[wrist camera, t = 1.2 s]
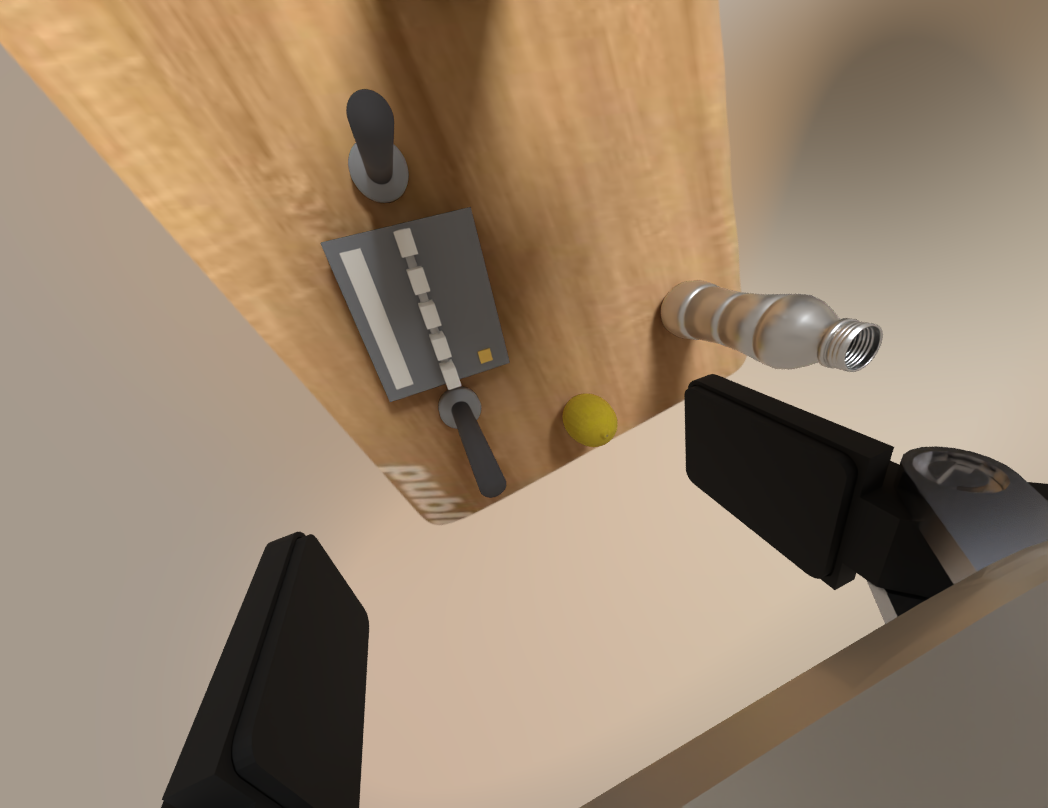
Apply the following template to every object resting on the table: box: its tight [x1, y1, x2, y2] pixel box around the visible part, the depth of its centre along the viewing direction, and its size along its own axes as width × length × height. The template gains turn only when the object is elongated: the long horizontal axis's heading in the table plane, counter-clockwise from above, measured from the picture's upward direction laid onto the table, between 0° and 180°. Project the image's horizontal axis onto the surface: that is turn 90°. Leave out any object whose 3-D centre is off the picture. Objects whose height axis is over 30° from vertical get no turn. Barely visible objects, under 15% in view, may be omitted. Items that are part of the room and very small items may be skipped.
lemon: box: [563, 394, 617, 447], centre depth 41 cm, size 6×6×8 cm
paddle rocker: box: [393, 228, 461, 390], centre depth 31 cm, size 13×1×3 cm, turn 13°
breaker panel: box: [321, 207, 510, 402], centre depth 34 cm, size 14×12×3 cm
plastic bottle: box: [661, 280, 883, 372], centre depth 35 cm, size 6×7×20 cm
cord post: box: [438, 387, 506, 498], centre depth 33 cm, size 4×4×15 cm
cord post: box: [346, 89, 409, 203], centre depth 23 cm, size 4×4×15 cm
